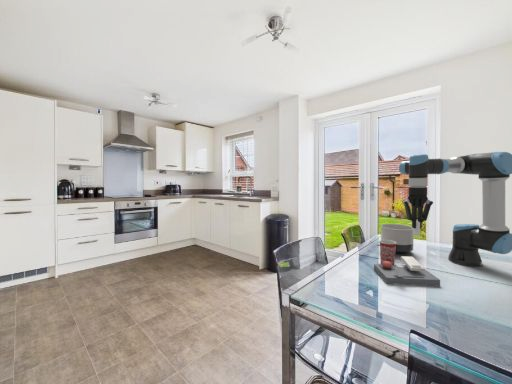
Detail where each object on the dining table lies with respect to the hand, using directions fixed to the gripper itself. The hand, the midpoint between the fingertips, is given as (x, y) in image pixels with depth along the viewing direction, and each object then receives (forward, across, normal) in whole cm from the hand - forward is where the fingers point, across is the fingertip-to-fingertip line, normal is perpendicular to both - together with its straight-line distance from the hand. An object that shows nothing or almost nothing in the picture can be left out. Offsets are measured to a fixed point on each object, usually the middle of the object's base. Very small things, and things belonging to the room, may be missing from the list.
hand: (416, 234), depth 114 cm
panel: (+24, +2, -7) cm, 25 cm away
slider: (+21, +8, 0) cm, 22 cm away
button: (+21, +9, -11) cm, 25 cm away
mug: (+25, +2, -27) cm, 36 cm away
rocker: (+18, -3, -10) cm, 21 cm away
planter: (+25, -11, -49) cm, 56 cm away
